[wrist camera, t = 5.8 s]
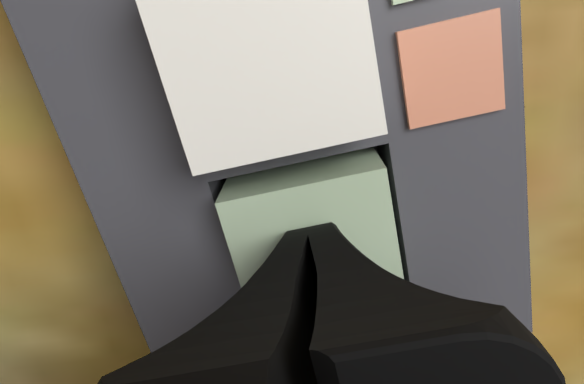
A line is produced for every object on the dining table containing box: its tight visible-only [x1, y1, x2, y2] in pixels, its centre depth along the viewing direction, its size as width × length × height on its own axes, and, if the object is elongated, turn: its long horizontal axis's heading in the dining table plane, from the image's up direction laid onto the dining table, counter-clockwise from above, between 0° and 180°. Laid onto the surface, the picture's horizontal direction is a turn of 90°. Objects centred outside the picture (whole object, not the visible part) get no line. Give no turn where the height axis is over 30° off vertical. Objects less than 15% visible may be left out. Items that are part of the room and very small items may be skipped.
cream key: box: [135, 0, 388, 176], centre depth 10 cm, size 4×4×4 cm
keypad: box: [1, 0, 532, 353], centre depth 12 cm, size 20×12×3 cm, turn 13°
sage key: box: [215, 147, 404, 288], centre depth 13 cm, size 4×4×4 cm
